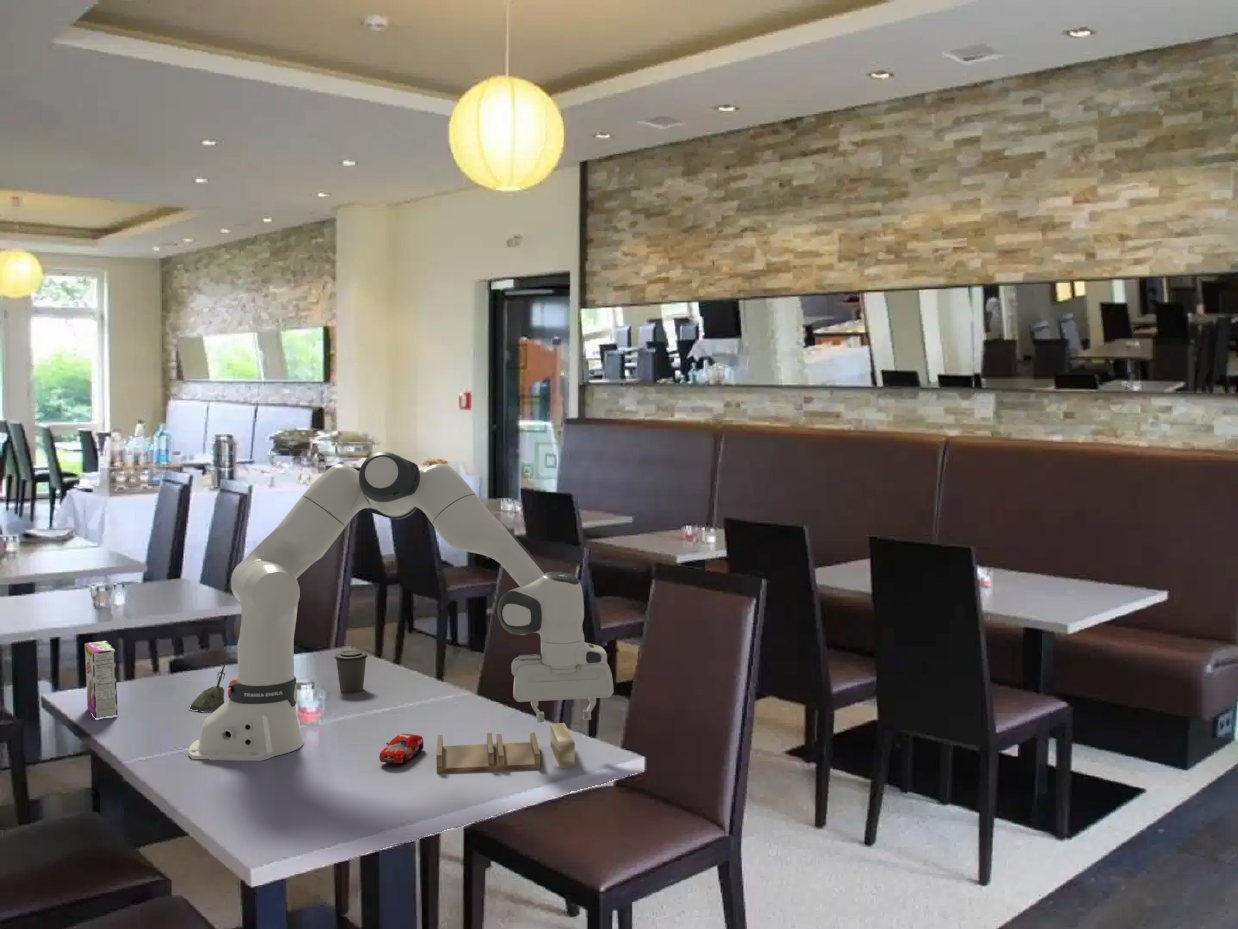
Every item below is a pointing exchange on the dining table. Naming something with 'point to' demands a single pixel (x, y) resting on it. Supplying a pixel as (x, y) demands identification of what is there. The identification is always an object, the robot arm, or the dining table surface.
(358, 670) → the coffee cup
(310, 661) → the dining table surface
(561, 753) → the bar
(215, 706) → the sword in stone
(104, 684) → the candy bar box
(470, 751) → the jig
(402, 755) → the race car
